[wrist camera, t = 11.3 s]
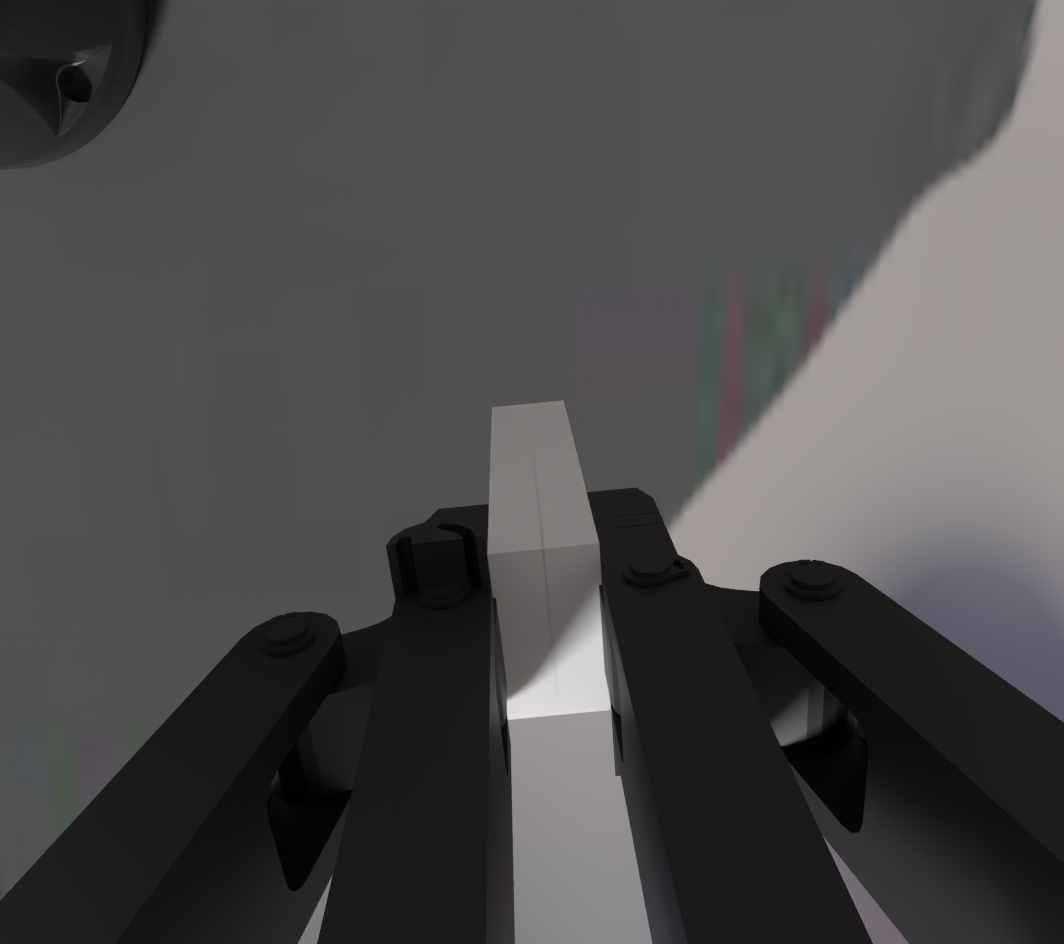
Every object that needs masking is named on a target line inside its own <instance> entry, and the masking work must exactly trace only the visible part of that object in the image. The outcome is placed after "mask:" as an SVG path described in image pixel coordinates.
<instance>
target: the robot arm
mask: <svg viewBox="0 0 1064 944" xmlns="http://www.w3.org/2000/svg"><path fill="white" fill-rule="evenodd" d="M145 25H146V3H145V0H0V169H16V168H26V167H32V166H37V165H41V164H45V163H48V162H52V161H55V160H57V159H60V158H62V157H64V156H67V155H69V154H70V153H72V152H74V151H76V150H78V149H79V148H81V147H82V146H84V145H85V144H87V143H88V142H89V141H91V140H92V139H93V138H94V137H96V136H97V135H98V134H99V133H100V132H101V131H102V130H103V129H104V128H105V127H106V126H107V125H108V123H109V122H110V121H111V120H112V119H113V117H114V116H115V115H116V113H117V112H118V111H119V109H120V108H121V106H122V104H123V103H124V101H125V99H126V97H127V95H128V93H129V91H130V89H131V87H132V84H133V82H134V79H135V77H136V74H137V71H138V67H139V64H140V60H141V55H142V51H143V44H144V37H145ZM386 548H387V554H388V560H389V565H390V571H391V577H392V582H393V588H394V593H395V599H396V600H395V604H394V609H393V613H392V616H391V617H390V618H388V619H386V620H384V621H382V622H380V623H378V624H375V625H372V626H369V627H367V628H364V629H360V630H357V631H353V632H350V633H346V634H343V635H341V633H340V629H339V626H338V623H337V621H336V620H335V619H333V618H332V617H330V616H328V615H327V614H322V613H316V612H300V613H297V612H293V613H287V614H285V615H280V616H277V617H274V618H272V619H270V620H269V621H266V622H264V623H262V624H260V625H258V626H256V627H255V628H253V629H252V630H251V631H250V632H248V633H247V634H246V635H245V636H243V637H242V638H241V639H240V640H239V641H238V643H237V644H236V645H235V646H234V647H233V648H232V649H231V650H230V651H229V652H228V653H227V655H226V656H225V657H224V658H223V659H222V660H221V661H220V662H219V663H218V664H217V665H216V667H215V668H214V669H213V670H212V671H211V672H210V673H209V674H208V675H207V676H206V677H205V679H204V680H203V681H202V682H201V683H200V684H199V685H198V686H197V687H196V688H195V689H194V690H193V692H192V693H191V694H190V695H189V696H188V697H187V698H186V699H185V700H184V701H183V702H182V704H181V705H180V706H179V707H178V708H177V709H176V710H175V711H174V712H173V713H172V714H171V716H170V717H169V718H168V719H167V720H166V721H165V722H164V723H163V724H162V725H161V726H160V728H159V729H158V730H157V731H156V732H155V733H154V734H153V735H152V736H151V737H150V738H149V739H148V741H147V742H146V743H145V744H144V745H143V746H142V747H141V748H140V749H139V750H138V751H137V753H136V754H135V755H134V756H133V757H132V758H131V759H130V760H129V761H128V762H127V763H126V765H125V766H124V767H123V768H122V769H121V770H120V771H119V772H118V773H117V774H116V775H115V777H114V778H113V779H112V780H111V781H110V782H109V783H108V784H107V785H106V786H105V787H104V788H103V790H102V791H101V792H100V793H99V794H98V795H97V796H96V797H95V798H94V799H93V800H92V802H91V803H90V804H89V805H88V806H87V807H86V808H85V809H84V810H83V811H82V812H81V814H80V815H79V816H78V817H77V818H76V819H75V820H74V821H73V822H72V823H71V824H70V826H69V827H68V828H67V829H66V830H65V831H64V832H63V833H62V834H61V835H60V836H59V838H58V839H57V840H56V841H55V842H54V843H53V844H52V845H51V846H50V847H49V848H48V849H47V851H46V852H45V853H44V854H43V855H42V856H41V857H40V858H39V859H38V860H37V861H36V863H35V864H34V865H33V866H32V867H31V868H30V869H29V870H28V871H27V872H26V873H25V875H24V876H23V877H22V878H21V879H20V880H19V881H18V882H17V883H16V884H15V885H14V887H13V888H12V889H11V890H10V891H9V892H8V893H7V894H6V895H5V896H4V897H3V898H2V900H1V901H0V944H298V942H299V940H300V938H301V936H302V934H303V932H304V930H305V928H306V926H307V924H308V922H309V920H310V918H311V916H312V914H313V912H314V910H315V908H316V906H317V904H318V902H319V900H320V898H321V896H322V895H323V893H324V891H325V889H326V887H327V884H328V883H329V880H330V879H331V877H332V875H333V877H332V881H331V885H330V890H329V894H328V899H327V903H326V908H325V912H324V916H323V921H322V925H321V929H320V934H319V938H318V943H317V944H515V929H514V881H513V833H512V786H511V743H510V735H509V727H508V720H510V719H521V718H531V717H542V716H552V715H562V714H572V713H583V712H593V711H602V710H610V700H611V712H612V728H613V743H614V759H615V773H616V776H620V775H621V779H622V784H623V789H624V795H625V800H626V806H627V811H628V816H629V821H630V826H631V832H632V837H633V843H634V848H635V853H636V858H637V864H638V869H639V875H640V880H641V885H642V891H643V896H644V901H645V906H646V912H647V917H648V922H649V928H650V933H651V938H652V944H873V943H872V941H871V939H870V937H869V935H868V932H867V930H866V928H865V926H864V924H863V922H862V919H861V918H860V915H859V913H858V911H857V909H856V907H855V905H854V902H853V900H852V898H851V896H850V894H849V892H848V889H847V887H846V885H845V883H844V881H843V879H842V877H841V875H840V872H839V870H838V868H837V866H836V864H835V861H834V859H833V857H832V855H831V853H830V851H829V849H828V846H827V844H826V842H825V840H824V838H823V836H824V837H825V839H826V840H827V841H828V842H829V844H830V845H831V846H832V847H833V849H834V850H835V851H836V852H837V854H838V855H839V856H840V858H841V859H842V860H843V861H844V863H845V864H846V865H847V866H848V868H849V869H850V870H851V871H852V873H853V874H854V875H855V876H856V878H857V879H858V880H859V881H860V883H861V884H862V885H863V886H864V888H865V889H866V890H867V891H868V893H869V894H870V895H871V896H872V898H873V899H874V900H875V901H876V903H877V904H878V905H879V906H880V908H881V909H882V910H883V911H884V913H885V914H886V915H887V916H888V918H889V919H890V920H891V922H892V923H893V924H894V925H895V927H896V928H897V929H898V930H899V932H900V933H901V934H902V935H903V937H904V938H905V939H906V940H907V942H908V943H909V944H1064V723H1063V722H1062V721H1061V720H1059V719H1058V718H1057V717H1055V716H1054V715H1052V714H1051V713H1050V712H1048V711H1047V710H1045V709H1044V708H1043V707H1041V706H1040V705H1038V704H1037V703H1036V702H1034V701H1033V700H1031V699H1030V698H1029V697H1027V696H1026V695H1025V694H1023V693H1022V692H1020V691H1019V690H1018V689H1016V688H1015V687H1013V686H1012V685H1010V684H1009V683H1008V682H1006V681H1005V680H1003V679H1002V678H1001V677H999V676H998V675H997V674H995V673H994V672H992V671H991V670H990V669H988V668H987V667H985V666H984V665H983V664H981V663H980V662H978V661H977V660H975V659H974V658H973V657H971V656H970V655H968V654H967V653H966V652H964V651H963V650H962V649H960V648H959V647H957V646H956V645H955V644H953V643H952V642H950V641H949V640H948V639H946V638H945V637H943V636H942V635H940V634H939V633H938V632H937V631H935V630H933V629H932V628H931V627H930V626H928V625H927V624H925V623H924V622H923V621H921V620H920V619H918V618H917V617H916V616H914V615H913V614H911V613H910V612H909V611H907V610H906V609H904V608H903V607H902V606H900V605H899V604H897V603H896V602H895V601H893V600H892V599H890V598H889V597H888V596H886V595H885V594H883V593H882V592H881V591H879V590H878V589H877V588H875V587H873V586H872V585H871V584H869V583H868V582H867V581H865V580H864V579H862V578H861V577H860V576H858V575H857V574H855V573H853V572H851V571H849V570H847V569H845V568H843V567H841V566H837V565H833V564H829V563H826V562H824V561H817V560H813V561H810V560H799V561H793V562H785V563H782V564H779V565H776V566H774V567H771V568H769V569H768V570H767V571H766V572H765V573H764V574H763V575H762V576H761V578H760V588H759V590H760V591H746V590H735V589H728V588H720V587H716V586H713V585H710V584H706V583H705V582H704V580H703V578H702V576H701V574H700V572H699V569H698V568H697V567H696V566H695V565H694V564H693V563H692V562H691V561H690V560H688V559H685V558H683V557H681V556H679V555H678V554H677V552H676V549H675V547H674V545H673V542H672V540H671V538H670V536H669V533H668V531H667V529H666V526H664V522H663V520H662V517H661V515H660V514H659V510H658V508H657V506H656V504H655V501H654V499H653V498H652V497H650V496H649V495H647V494H646V493H644V492H643V491H641V490H639V489H638V488H627V489H617V490H606V491H596V492H586V488H585V484H584V480H583V476H582V472H581V468H580V464H579V461H578V457H577V453H576V449H575V445H574V441H573V437H572V433H571V429H570V425H569V421H568V417H567V413H566V409H565V405H564V401H554V402H543V403H533V404H523V405H513V406H502V407H492V427H491V457H490V488H489V504H485V505H475V506H465V507H454V508H444V509H438V510H437V511H436V512H435V513H434V514H433V515H432V516H431V517H430V518H429V519H428V520H427V521H426V522H425V523H421V524H418V525H415V526H412V527H410V528H407V529H404V530H403V531H401V532H400V533H398V534H397V535H395V536H393V537H392V538H391V540H390V541H389V543H388V544H387V546H386ZM609 696H610V698H609ZM507 715H508V719H507ZM822 835H823V836H822Z"/></svg>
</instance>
